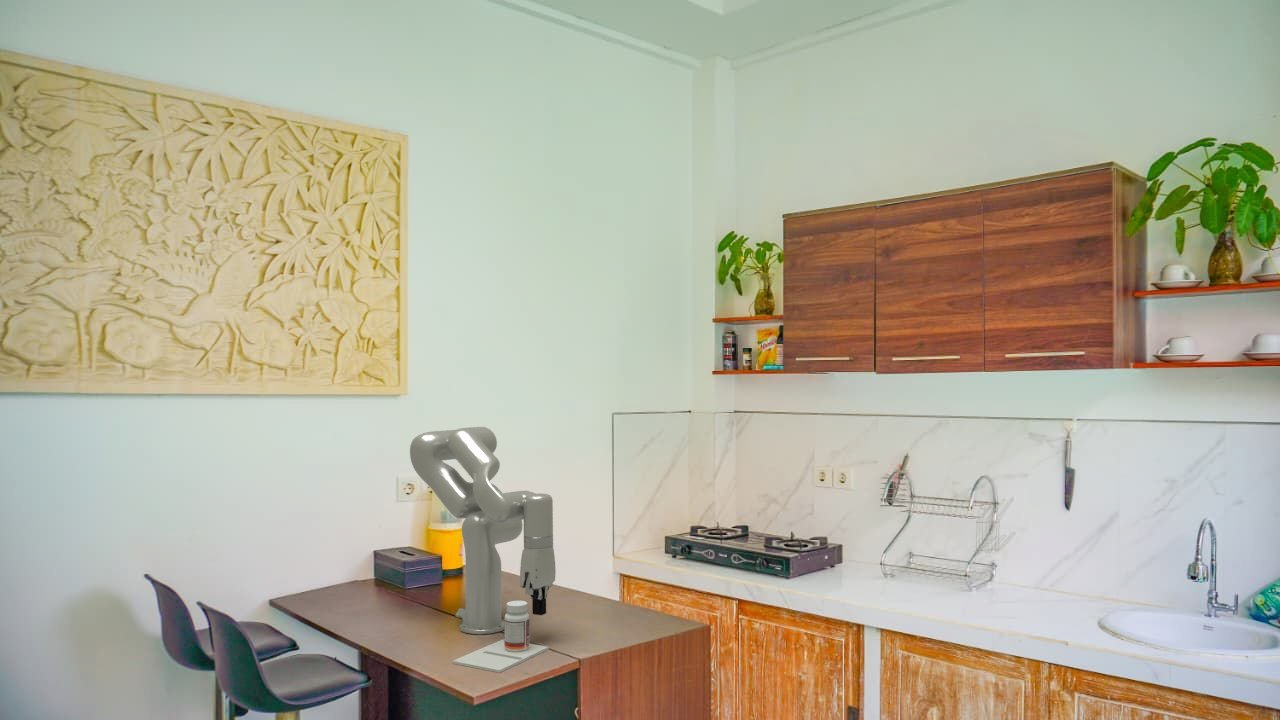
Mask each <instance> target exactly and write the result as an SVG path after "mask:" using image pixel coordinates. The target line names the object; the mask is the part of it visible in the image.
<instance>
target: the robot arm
mask: <svg viewBox="0 0 1280 720" xmlns="http://www.w3.org/2000/svg"><path fill="white" fill-rule="evenodd" d="M497 440H498V439H497V437H496V435H495V433H494V432H493V431H492V430H491V429H490V428H488V427H486V426H473V427H472V426H471V427H461V428H457V429H448V430H434V431H433V430H432V431H427V432H423V433H421V434H418V435H417V436H415V437H413V439H412V441H411V443H410V445H409V458H410V462H411V465H412V467H413V469H414V471H415V473H416V474H417V475H418V477H420V479H421V480H422V481H423V482H425V484H426V485H427V486H428V487H429V488H430V489H431V490H432V491H433V492H434V494H435V495H436V497H437V498H438V499H439V500H440V502H441V503H442V504H443V506H445V508H446V510H447V511H448V512H449V513H450V514H451V515H452V516H453V517H454V518H456V519H459V520H460V519H464V520H463V522H462V525H461V535H462V541H463V546H464V553H465V556H464V557H465V608H461V607H460V608H458V610H457V612H456V613H455V617H456V618H460V619H462V622H461V623H459V629H460V631H461V632H464V633H467V634H472V635H488V634H493V633H494V634H495V633H498V632H501V631H504V618H503V619H502V560H501V556H500V553H499V552H498V550H497V548H496V545H497V544H498V545H499V544H502V543H507V542H512V541H514V540H516V539H518V537H520V535H521V534H522V532H523V549H522V552H521V558H520V566H519V569H520V570H519V586H520V588H522V589H525V590H524V594H525V595H527V596H530V599H531V602H532V607H531V608H532V609H531V610H532V614H533V615H537V616H543V615H546V614H547V598H548V595H549V594H548V593H549V592H548V591H549V590H550V589H551V588H552V587H553V583H554V582H555V581H556V557H555V549H554V517H553V516H554V514H553V511H554V508H553V506H554V505H553V503H554V501H553V497H552V496H551V495H550V494H549V493H535V492H533V491H529V490H519V491H518V490H516V491H510V492H502V490H500V488H499V487H497V486H496V485H495V484H493V483H491V480H493V479H494V477H495V476H496V475H497V474H498V472H499V470H500V467H501V463H500V460H499V458H498V457H496V455H494V453H495V451H496V449H497V446H498V444H497V443H498V441H497ZM449 460H450V461H451V460H456V461H457V462H458V463H459V465H460V466H461V467H462V469H464V470H465V472H466V473H467V475H469V477H470V478H471V479H472V480H473V481H472V482H470V481H466V480H465V479H464V477H462V475H461V474H460V473H459V472H458V471H457V470H456V468H454V467H453V466H451V465H449V464H448V463H446V462H444V461H449ZM522 530H523V531H522Z"/></svg>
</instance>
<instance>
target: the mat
mask: <svg viewBox="0 0 1280 720" xmlns="http://www.w3.org/2000/svg"><path fill="white" fill-rule="evenodd" d="M549 649H550V647H549V646H545V645H539V644H534V643H529V648H528V649H527V650H524V651H520V652H511V651H508V650H506V649H505V646H504V638H503V639H500V640H497V641H496V642H494V643H492V644H489V645H487V646H484V647H482V648H479V649H477V650H475V651H473V652H470V653H467V654H466V655H465V654H464V655H463V656H461V657H458V658H457V659H454V660H452V662H451V663H452V665H453V664H454V665H459V666H463V667H468V668H474V669H479V670H484V671H488V672H493V673H494V672H495V673H498V674H500V673H502V672H504V671H506V670H508V669H511V668H513V667H514V666H517V665H519V664H521V663H524V662H525V661H527V660H529V659H531V658H534V657H535V656H539V655H540V654H543V653H544V652H547V651H548V650H549Z"/></svg>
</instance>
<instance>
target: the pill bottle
mask: <svg viewBox="0 0 1280 720" xmlns="http://www.w3.org/2000/svg"><path fill="white" fill-rule="evenodd" d="M527 611H528V602H527V601H525V600H512V601H508V602H507V603H506V612H507V613H505V615H504V618H503V620H504V630H503V631H504V638H503V639H504V646H505V649H506V650H508V651H511V652H520V651H524V650H527V649H528V648H529V644H530V614H529V613H528V612H527Z"/></svg>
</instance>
